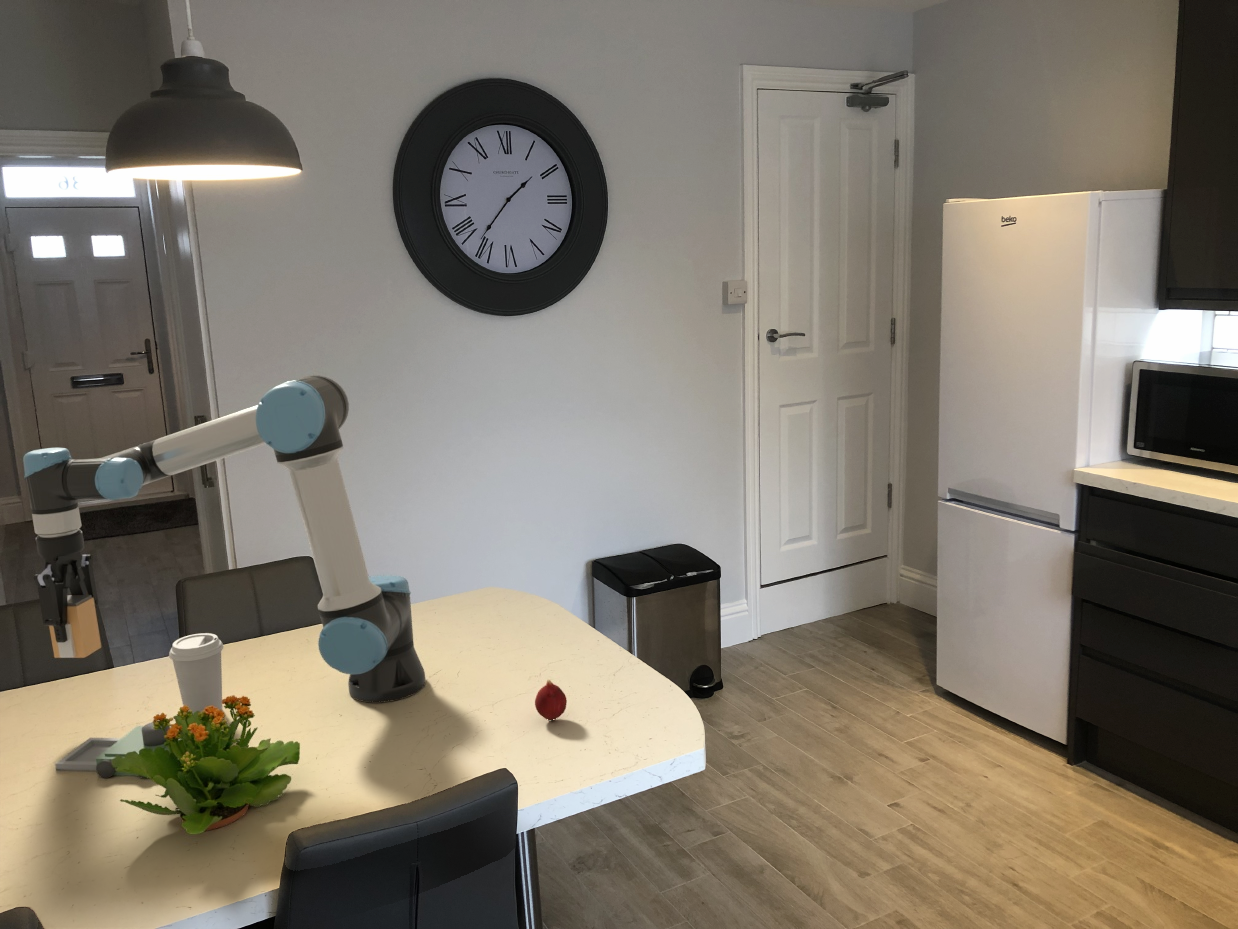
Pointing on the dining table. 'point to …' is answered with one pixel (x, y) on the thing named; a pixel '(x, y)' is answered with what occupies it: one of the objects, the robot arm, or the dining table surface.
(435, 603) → the dining table surface
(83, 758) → the wheeled tray
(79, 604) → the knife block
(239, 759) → the potted flower
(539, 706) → the onion
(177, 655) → the coffee cup
